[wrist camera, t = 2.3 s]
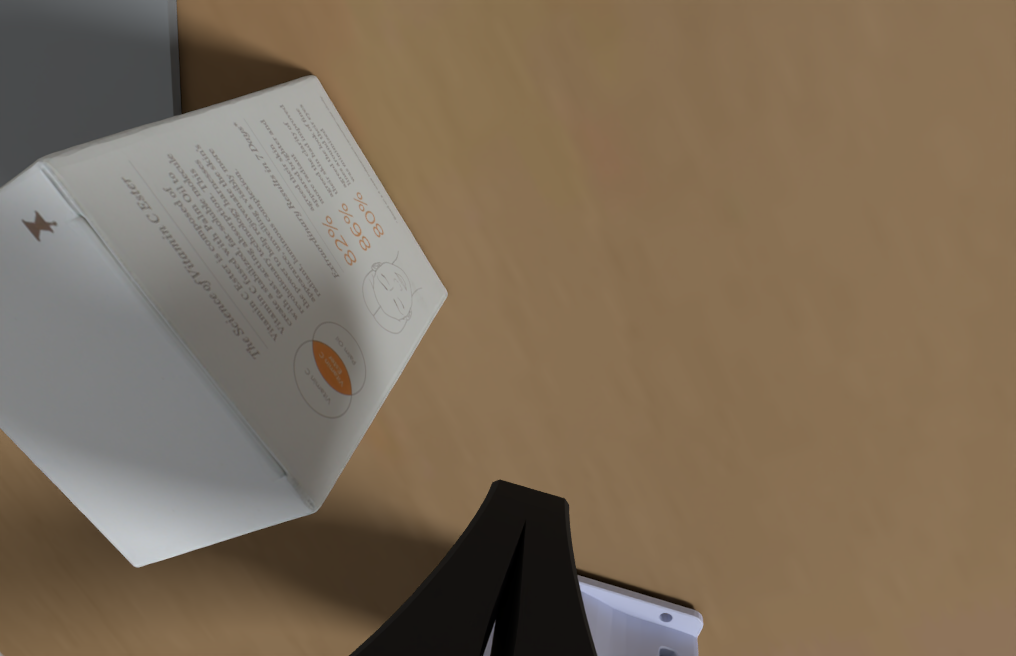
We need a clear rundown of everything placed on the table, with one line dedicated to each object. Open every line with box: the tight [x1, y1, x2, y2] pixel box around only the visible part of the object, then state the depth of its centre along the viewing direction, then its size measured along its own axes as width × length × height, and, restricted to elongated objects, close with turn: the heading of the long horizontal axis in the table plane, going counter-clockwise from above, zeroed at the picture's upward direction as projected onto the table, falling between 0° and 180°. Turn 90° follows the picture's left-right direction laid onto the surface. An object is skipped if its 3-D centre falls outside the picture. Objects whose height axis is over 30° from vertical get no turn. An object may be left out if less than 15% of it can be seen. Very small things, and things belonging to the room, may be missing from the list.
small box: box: [0, 75, 448, 568], centre depth 17 cm, size 8×6×10 cm
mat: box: [0, 0, 182, 188], centre depth 22 cm, size 12×16×1 cm
